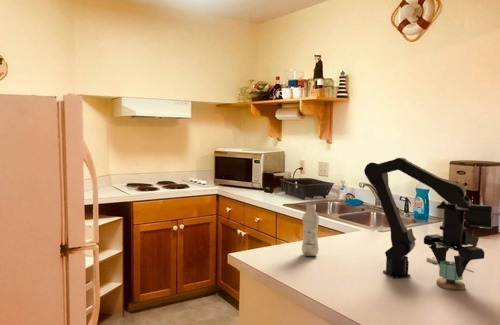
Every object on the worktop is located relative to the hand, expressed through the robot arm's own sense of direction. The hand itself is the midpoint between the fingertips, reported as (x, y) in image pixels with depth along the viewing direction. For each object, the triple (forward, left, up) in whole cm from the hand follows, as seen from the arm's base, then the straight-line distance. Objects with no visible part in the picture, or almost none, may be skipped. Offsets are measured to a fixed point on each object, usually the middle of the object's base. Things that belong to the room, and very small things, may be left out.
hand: (450, 273), depth 123 cm
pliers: (+13, +15, -5) cm, 21 cm away
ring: (0, 0, -1) cm, 1 cm away
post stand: (0, 0, -4) cm, 4 cm away
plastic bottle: (-29, +40, -4) cm, 50 cm away
